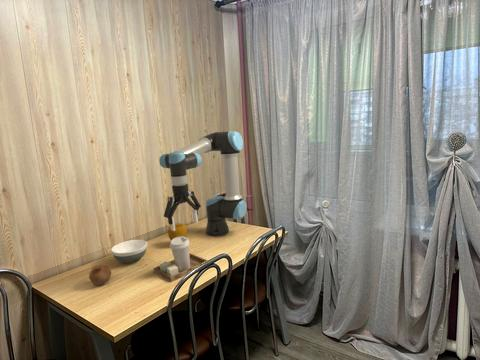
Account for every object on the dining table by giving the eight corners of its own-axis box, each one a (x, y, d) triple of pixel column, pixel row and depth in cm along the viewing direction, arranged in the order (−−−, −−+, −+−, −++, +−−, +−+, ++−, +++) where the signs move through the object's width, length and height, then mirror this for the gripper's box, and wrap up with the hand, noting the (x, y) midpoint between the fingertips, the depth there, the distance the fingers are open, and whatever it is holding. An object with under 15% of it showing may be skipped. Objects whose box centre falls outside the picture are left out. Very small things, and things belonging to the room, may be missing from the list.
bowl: (107, 261, 170) (105, 247, 168) (138, 250, 183) (137, 237, 181) (122, 271, 157) (120, 256, 155) (155, 258, 170) (153, 244, 168)
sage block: (166, 269, 155) (165, 261, 154) (172, 270, 153) (171, 263, 152) (160, 272, 152) (159, 264, 151) (166, 274, 149) (165, 266, 149)
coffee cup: (190, 273, 149) (185, 245, 144) (171, 273, 151) (165, 245, 146) (195, 261, 158) (191, 235, 153) (177, 261, 160) (172, 235, 155)
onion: (101, 293, 143) (95, 279, 137) (88, 284, 147) (81, 271, 141) (118, 277, 150) (112, 264, 144) (104, 269, 154) (98, 256, 148)
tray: (190, 257, 168) (189, 253, 168) (209, 265, 157) (208, 260, 156) (153, 272, 153) (153, 268, 153) (171, 283, 142) (171, 278, 141)
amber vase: (166, 248, 183) (164, 227, 181) (173, 241, 194) (171, 221, 192) (184, 248, 181) (182, 227, 179) (190, 241, 192) (188, 221, 190)
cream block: (175, 272, 151) (174, 264, 150) (178, 275, 147) (178, 267, 147) (167, 275, 148) (166, 267, 148) (171, 278, 145) (170, 270, 144)
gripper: (195, 178, 161) (200, 217, 165) (152, 188, 144) (158, 232, 148) (205, 179, 156) (209, 220, 160) (161, 190, 139) (167, 235, 143)
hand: (184, 226), depth 154 cm, fingers open, 13 cm apart
